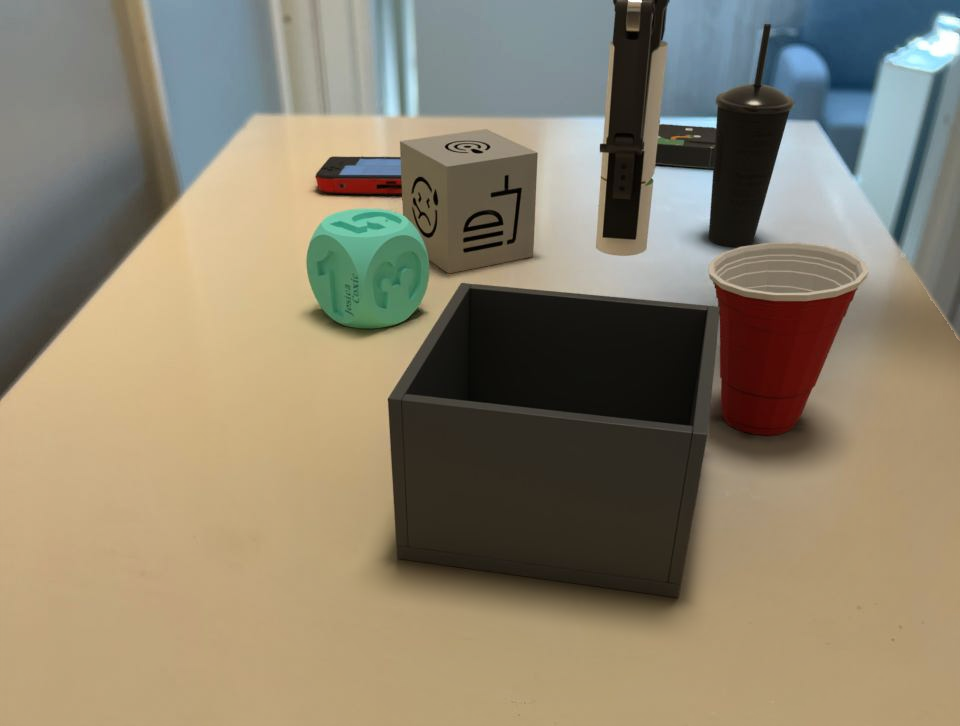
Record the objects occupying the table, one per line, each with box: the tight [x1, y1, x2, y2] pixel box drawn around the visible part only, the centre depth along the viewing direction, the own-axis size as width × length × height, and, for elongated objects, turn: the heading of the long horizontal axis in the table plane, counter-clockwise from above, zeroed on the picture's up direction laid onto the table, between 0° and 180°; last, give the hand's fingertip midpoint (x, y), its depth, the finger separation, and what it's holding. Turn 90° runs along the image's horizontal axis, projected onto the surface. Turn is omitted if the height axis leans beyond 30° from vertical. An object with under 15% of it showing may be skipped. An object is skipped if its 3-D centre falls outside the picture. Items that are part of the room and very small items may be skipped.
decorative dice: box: [305, 207, 430, 329], centre depth 89 cm, size 8×8×8 cm
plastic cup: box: [708, 242, 869, 436], centre depth 73 cm, size 11×11×12 cm
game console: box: [315, 155, 402, 195], centre depth 121 cm, size 14×13×2 cm
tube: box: [595, 40, 668, 257], centre depth 79 cm, size 4×4×15 cm
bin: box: [387, 282, 720, 599], centre depth 64 cm, size 18×18×11 cm
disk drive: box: [655, 123, 716, 170], centre depth 131 cm, size 10×3×15 cm
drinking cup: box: [708, 23, 795, 248], centre depth 101 cm, size 8×8×20 cm
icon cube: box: [399, 128, 539, 275], centre depth 101 cm, size 10×10×10 cm
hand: (622, 226), depth 83 cm, fingers closed on tube, 4 cm apart
